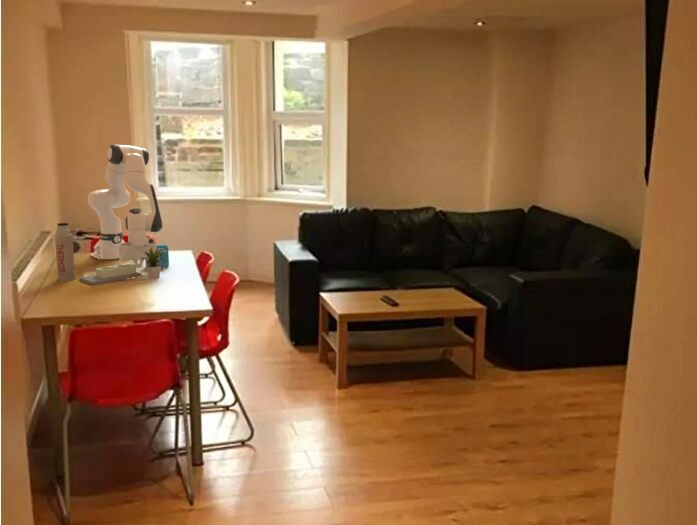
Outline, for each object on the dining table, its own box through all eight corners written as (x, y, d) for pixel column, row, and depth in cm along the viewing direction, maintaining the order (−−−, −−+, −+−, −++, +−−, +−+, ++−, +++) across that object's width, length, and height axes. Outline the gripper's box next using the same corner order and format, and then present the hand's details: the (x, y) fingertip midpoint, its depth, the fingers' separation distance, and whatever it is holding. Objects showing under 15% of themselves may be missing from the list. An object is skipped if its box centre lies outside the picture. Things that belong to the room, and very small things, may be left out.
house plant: (160, 282, 348) (158, 249, 344) (134, 280, 351) (132, 248, 347) (173, 276, 362) (171, 244, 358) (147, 274, 364) (146, 243, 361)
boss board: (79, 280, 350) (78, 271, 350) (127, 272, 369) (126, 263, 368) (93, 285, 341) (92, 276, 340) (141, 276, 360) (141, 267, 359)
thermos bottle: (66, 281, 348) (61, 224, 342) (54, 279, 351) (50, 223, 346) (79, 278, 355) (74, 222, 349) (67, 276, 358) (63, 221, 353)
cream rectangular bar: (129, 270, 366) (129, 263, 365) (136, 272, 362) (136, 264, 361) (96, 276, 353) (95, 268, 352) (102, 278, 348) (102, 270, 348)
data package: (145, 268, 378) (144, 246, 376) (145, 266, 383) (144, 244, 380) (169, 267, 382) (168, 245, 379) (168, 265, 386) (167, 243, 383)
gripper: (122, 244, 353) (123, 271, 356) (158, 239, 368) (159, 265, 371) (115, 242, 358) (117, 269, 360) (151, 237, 372) (152, 263, 375)
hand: (138, 267), depth 366 cm, fingers closed
